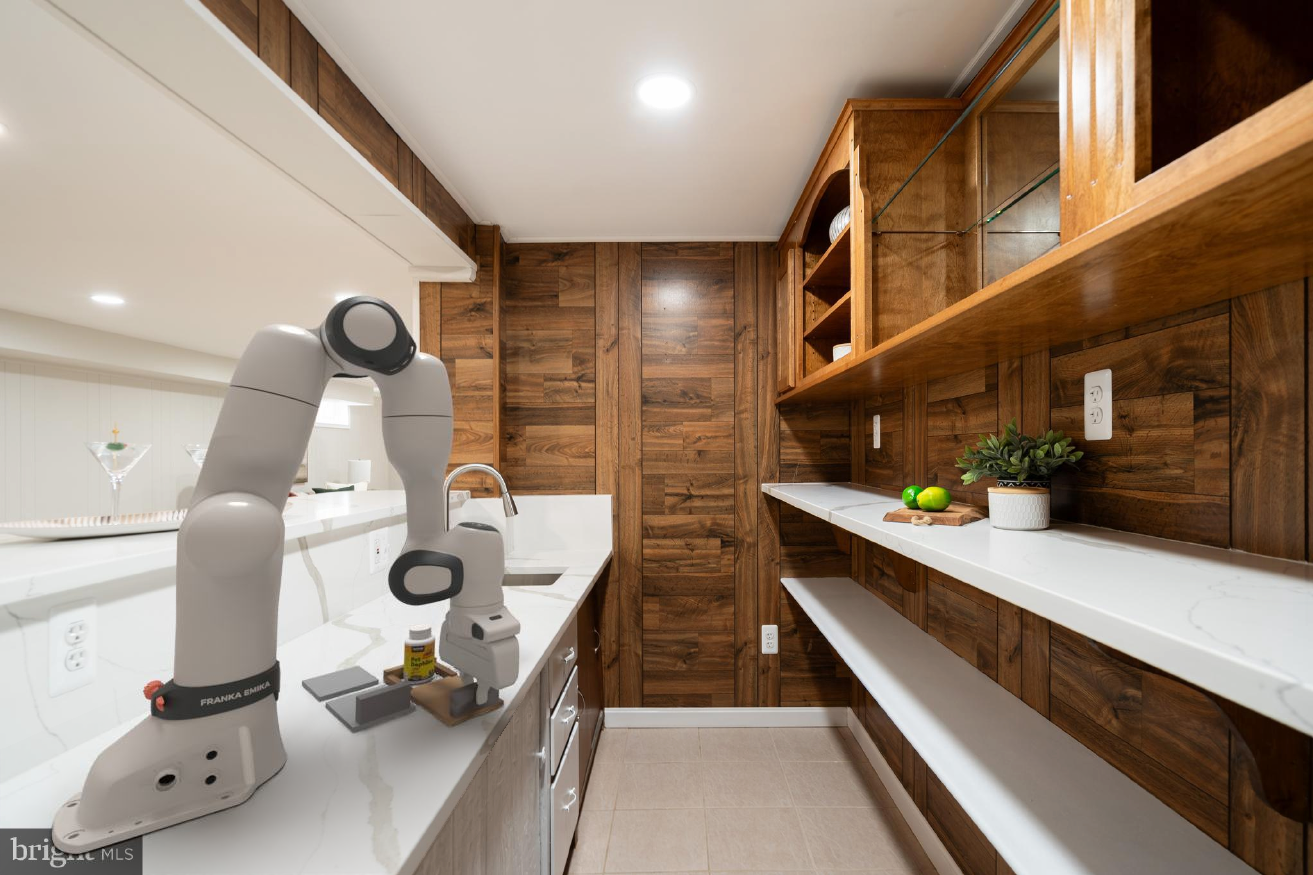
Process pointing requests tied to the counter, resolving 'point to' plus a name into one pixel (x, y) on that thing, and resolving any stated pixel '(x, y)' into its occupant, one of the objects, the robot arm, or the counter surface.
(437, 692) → the wooden tray
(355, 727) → the broken grey strip
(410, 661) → the supplement bottle
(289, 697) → the counter surface
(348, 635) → the counter surface
